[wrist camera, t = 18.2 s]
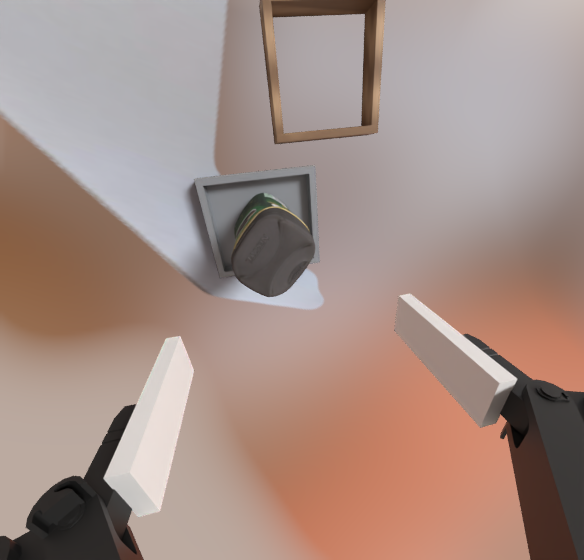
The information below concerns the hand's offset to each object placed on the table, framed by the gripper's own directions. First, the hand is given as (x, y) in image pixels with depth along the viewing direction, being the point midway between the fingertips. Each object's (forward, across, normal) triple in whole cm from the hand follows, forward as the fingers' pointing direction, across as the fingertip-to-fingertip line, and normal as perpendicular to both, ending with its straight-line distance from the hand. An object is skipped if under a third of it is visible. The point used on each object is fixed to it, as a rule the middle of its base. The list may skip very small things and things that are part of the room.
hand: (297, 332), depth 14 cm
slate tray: (+31, 0, 0) cm, 31 cm away
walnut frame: (+31, +11, +19) cm, 38 cm away
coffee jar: (+30, 0, 0) cm, 30 cm away
